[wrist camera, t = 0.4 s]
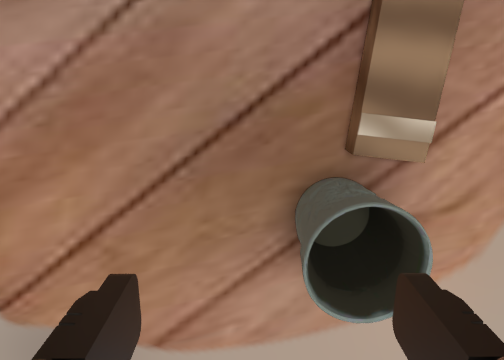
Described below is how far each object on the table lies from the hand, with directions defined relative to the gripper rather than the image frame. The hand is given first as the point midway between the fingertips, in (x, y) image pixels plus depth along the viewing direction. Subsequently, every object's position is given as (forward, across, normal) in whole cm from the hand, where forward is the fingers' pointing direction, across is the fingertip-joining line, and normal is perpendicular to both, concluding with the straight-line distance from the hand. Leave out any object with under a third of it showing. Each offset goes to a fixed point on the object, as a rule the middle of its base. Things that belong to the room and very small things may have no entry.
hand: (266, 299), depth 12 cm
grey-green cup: (+28, -9, +8) cm, 30 cm away
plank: (+28, -14, -12) cm, 34 cm away
